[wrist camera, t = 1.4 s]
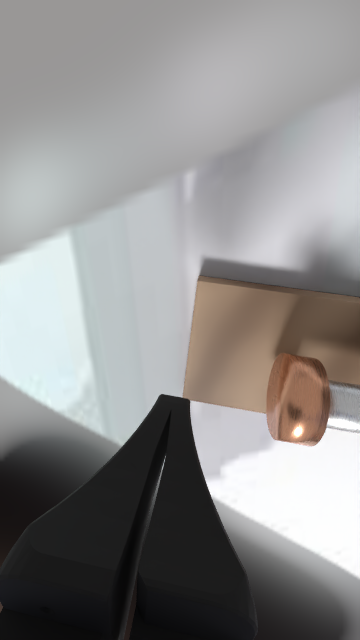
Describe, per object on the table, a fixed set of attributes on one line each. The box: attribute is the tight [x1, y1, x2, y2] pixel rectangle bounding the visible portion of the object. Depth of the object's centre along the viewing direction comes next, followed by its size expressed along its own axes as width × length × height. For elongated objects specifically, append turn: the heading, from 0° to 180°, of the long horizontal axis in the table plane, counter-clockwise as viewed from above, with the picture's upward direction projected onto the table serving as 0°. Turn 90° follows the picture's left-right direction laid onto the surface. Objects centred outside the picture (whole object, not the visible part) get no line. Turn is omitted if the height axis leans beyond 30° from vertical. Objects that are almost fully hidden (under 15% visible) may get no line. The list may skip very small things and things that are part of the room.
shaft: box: [266, 353, 360, 446], centre depth 14 cm, size 8×4×4 cm, turn 85°
